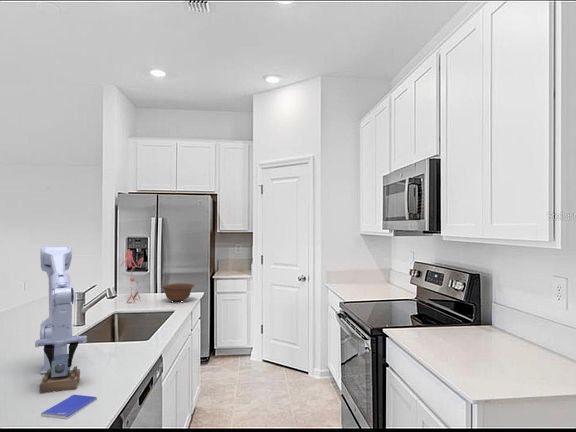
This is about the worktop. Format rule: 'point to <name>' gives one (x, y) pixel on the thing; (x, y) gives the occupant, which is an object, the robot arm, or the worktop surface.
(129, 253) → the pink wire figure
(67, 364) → the housing
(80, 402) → the hard drive
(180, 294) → the bowl
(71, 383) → the stand
